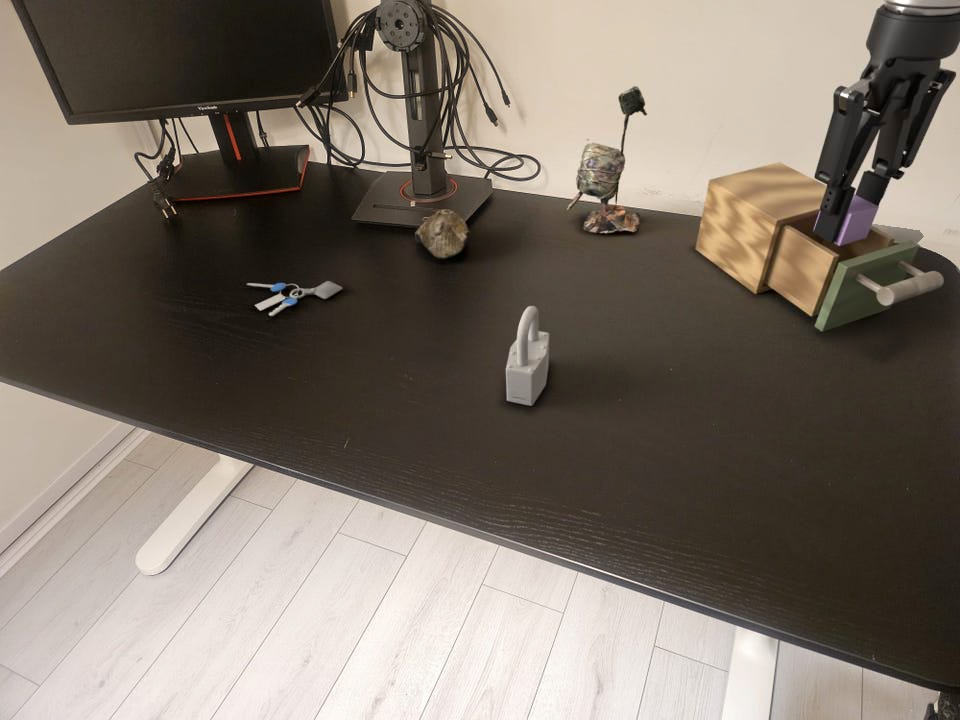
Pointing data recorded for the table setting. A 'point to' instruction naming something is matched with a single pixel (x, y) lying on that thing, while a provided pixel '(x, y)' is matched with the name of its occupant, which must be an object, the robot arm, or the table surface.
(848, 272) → the pull-out drawer
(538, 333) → the padlock
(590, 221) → the metal wire sculpture
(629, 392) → the table surface
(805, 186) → the wooden drawer box
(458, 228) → the fossilized seashell
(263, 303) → the key chain
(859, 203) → the purple block
